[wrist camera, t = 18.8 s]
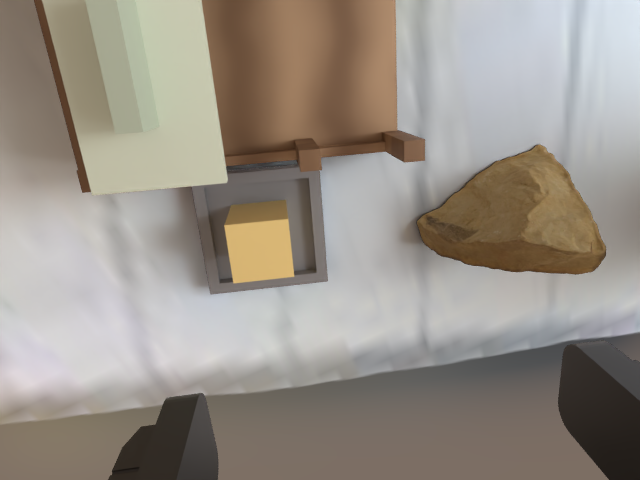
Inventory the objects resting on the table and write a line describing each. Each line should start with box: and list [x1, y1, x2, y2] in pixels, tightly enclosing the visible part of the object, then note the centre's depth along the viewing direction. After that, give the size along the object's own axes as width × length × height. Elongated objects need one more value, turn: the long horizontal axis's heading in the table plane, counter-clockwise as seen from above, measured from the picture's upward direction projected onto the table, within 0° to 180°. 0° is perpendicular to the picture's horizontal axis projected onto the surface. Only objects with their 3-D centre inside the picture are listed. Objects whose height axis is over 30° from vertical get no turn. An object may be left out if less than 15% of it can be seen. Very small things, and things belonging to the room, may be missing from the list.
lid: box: [42, 0, 228, 196], centre depth 20 cm, size 7×12×4 cm, turn 4°
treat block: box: [224, 200, 294, 283], centre depth 31 cm, size 4×4×5 cm
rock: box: [417, 145, 606, 275], centre depth 32 cm, size 11×9×10 cm
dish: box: [191, 164, 328, 294], centre depth 33 cm, size 9×9×1 cm
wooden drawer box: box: [34, 0, 425, 193], centre depth 26 cm, size 19×12×8 cm, turn 94°
